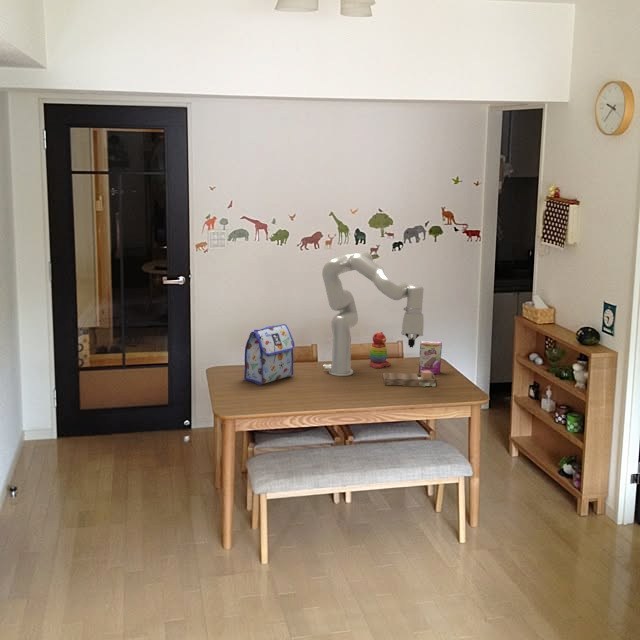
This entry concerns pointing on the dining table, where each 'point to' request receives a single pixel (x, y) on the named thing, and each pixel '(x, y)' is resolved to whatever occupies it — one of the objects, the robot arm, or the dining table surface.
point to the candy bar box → (430, 356)
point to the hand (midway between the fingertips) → (411, 346)
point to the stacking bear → (378, 351)
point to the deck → (408, 379)
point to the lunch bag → (269, 354)
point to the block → (426, 374)
